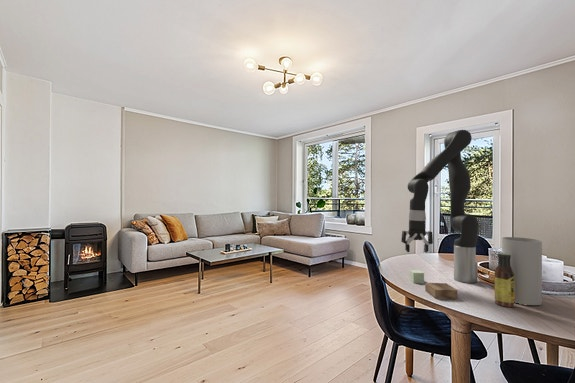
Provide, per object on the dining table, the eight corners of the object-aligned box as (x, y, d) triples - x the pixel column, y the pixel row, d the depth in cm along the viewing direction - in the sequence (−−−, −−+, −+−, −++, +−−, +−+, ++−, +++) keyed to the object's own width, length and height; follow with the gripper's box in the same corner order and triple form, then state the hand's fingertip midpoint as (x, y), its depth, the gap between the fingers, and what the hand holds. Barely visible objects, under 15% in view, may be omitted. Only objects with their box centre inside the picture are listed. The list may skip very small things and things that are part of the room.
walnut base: (445, 292, 124) (446, 283, 124) (457, 299, 115) (457, 290, 115) (425, 291, 125) (425, 282, 125) (435, 299, 116) (435, 289, 116)
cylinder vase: (501, 293, 123) (501, 236, 123) (539, 299, 116) (539, 239, 116) (502, 301, 113) (502, 239, 113) (544, 309, 106) (544, 243, 106)
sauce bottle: (515, 309, 105) (516, 256, 106) (495, 305, 109) (495, 254, 109) (513, 303, 111) (513, 253, 111) (493, 300, 114) (493, 251, 114)
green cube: (419, 280, 141) (419, 270, 141) (424, 283, 136) (424, 273, 136) (409, 280, 141) (409, 270, 141) (413, 283, 136) (413, 272, 136)
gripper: (428, 219, 142) (428, 251, 142) (399, 218, 143) (399, 250, 142) (435, 220, 134) (435, 254, 134) (405, 219, 135) (404, 253, 135)
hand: (416, 252), depth 138 cm, fingers open, 8 cm apart
